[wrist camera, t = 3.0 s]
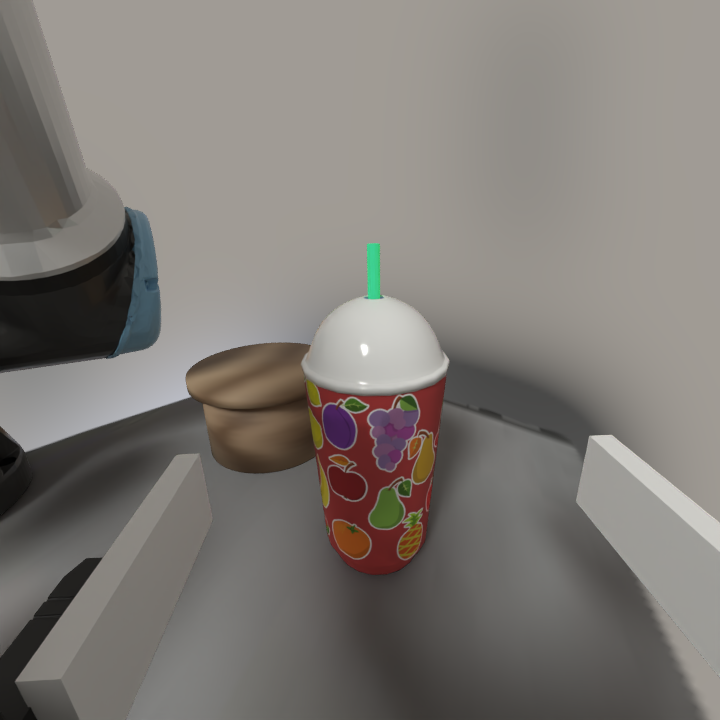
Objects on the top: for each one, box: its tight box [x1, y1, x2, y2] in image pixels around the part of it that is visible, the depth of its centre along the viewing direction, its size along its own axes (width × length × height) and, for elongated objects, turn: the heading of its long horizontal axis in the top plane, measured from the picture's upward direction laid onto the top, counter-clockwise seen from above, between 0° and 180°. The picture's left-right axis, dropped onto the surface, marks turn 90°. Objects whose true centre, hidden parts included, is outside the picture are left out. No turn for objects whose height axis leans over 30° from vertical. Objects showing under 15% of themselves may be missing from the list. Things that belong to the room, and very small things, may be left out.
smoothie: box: [301, 243, 450, 575], centre depth 23 cm, size 8×8×20 cm
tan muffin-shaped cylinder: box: [186, 343, 316, 473], centre depth 38 cm, size 14×14×8 cm
